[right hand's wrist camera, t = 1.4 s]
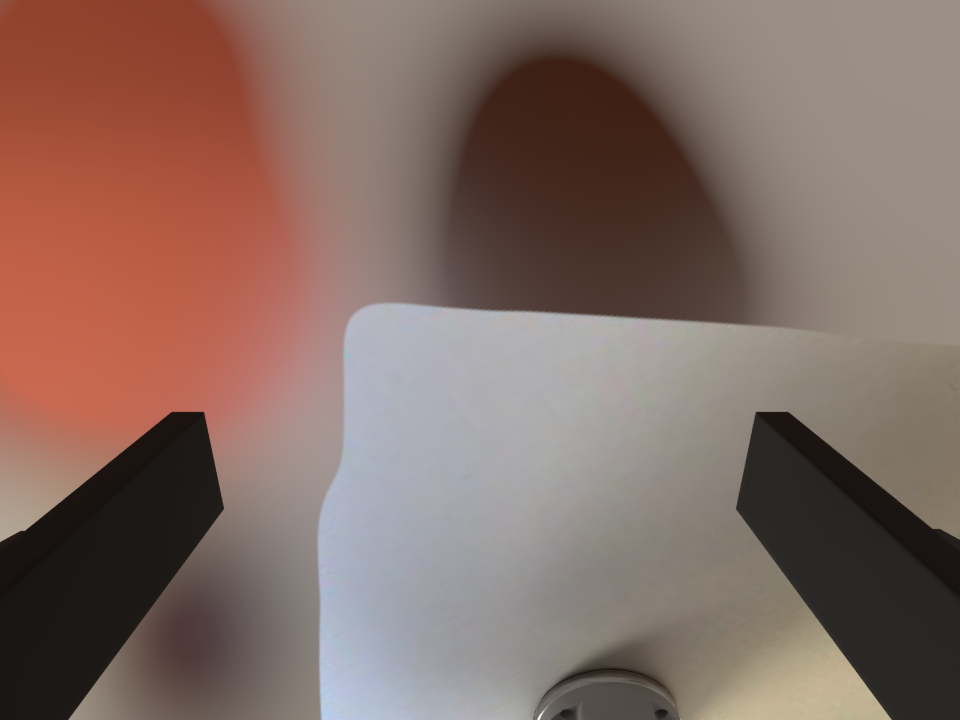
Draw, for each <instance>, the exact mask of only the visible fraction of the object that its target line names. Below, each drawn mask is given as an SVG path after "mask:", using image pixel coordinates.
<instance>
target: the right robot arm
mask: <svg viewBox="0 0 960 720" xmlns="http://www.w3.org/2000/svg"><path fill="white" fill-rule="evenodd" d="M223 509H224V506H223V502H222V497H221V492H220V487H219V482H218V477H217V472H216V468H215V463H214V458H213V453H212V448H211V443H210V439H209V434H208V429H207V424H206V419H205V414H204V412H171V413H170V414H169V415H167V416H166V417H165V418H164V419H162V420H161V421H160V422H159V423H158V424H156V425H155V426H154V427H153V428H151V429H150V430H149V431H148V432H146V433H145V434H144V435H143V436H142V437H140V438H139V439H138V440H137V441H135V442H134V443H133V444H132V445H130V446H129V447H128V448H127V449H125V450H124V451H123V452H122V453H121V454H119V455H118V456H117V457H116V458H114V459H113V460H112V461H111V462H109V463H108V464H107V465H106V466H105V467H103V468H102V469H101V470H100V471H98V472H97V473H96V474H95V475H93V476H92V477H91V478H90V479H88V480H87V481H86V482H85V483H83V484H82V485H81V486H80V487H79V488H77V489H76V490H75V491H74V492H72V493H71V494H70V495H69V496H67V497H66V498H65V499H64V500H63V501H61V502H60V503H59V504H58V505H56V506H55V507H54V508H53V509H51V510H50V511H49V512H48V513H46V514H45V515H44V516H43V517H42V518H40V519H39V520H38V521H37V522H35V523H34V524H33V525H32V526H30V527H29V528H28V529H27V530H26V531H20V532H18V533H16V534H14V535H12V536H11V537H9V538H7V539H5V540H3V541H1V542H0V720H68V719H69V718H70V717H71V715H72V714H73V712H74V711H75V710H76V708H77V707H78V706H79V704H80V703H81V702H82V700H83V699H84V698H85V696H86V695H87V694H88V692H89V691H90V690H91V688H92V687H93V685H94V684H95V683H96V681H97V680H98V679H99V677H100V676H101V675H102V673H103V672H104V671H105V669H106V668H107V667H108V665H109V664H110V662H111V661H112V660H113V658H114V657H115V656H116V654H117V653H118V652H119V650H120V649H121V648H122V646H123V645H124V644H125V642H126V641H127V639H128V638H129V637H130V635H131V634H132V633H133V631H134V630H135V629H136V627H137V626H138V625H139V623H140V622H141V621H142V619H143V618H144V616H145V615H146V614H147V612H148V611H149V610H150V608H151V607H152V606H153V604H154V603H155V602H156V600H157V599H158V597H159V596H160V595H161V593H162V592H163V591H164V589H165V588H166V587H167V585H168V584H169V583H170V581H171V580H172V579H173V577H174V576H175V574H176V573H177V572H178V570H179V569H180V568H181V566H182V565H183V564H184V562H185V561H186V560H187V558H188V557H189V556H190V554H191V553H192V551H193V550H194V549H195V547H196V546H197V545H198V543H199V542H200V541H201V539H202V538H203V537H204V535H205V534H206V532H207V531H208V530H209V528H210V527H211V526H212V524H213V523H214V522H215V520H216V519H217V518H218V516H219V515H220V514H221V512H222V511H223ZM736 510H737V511H738V512H739V514H740V515H741V516H742V518H743V519H744V520H745V522H746V523H747V524H748V526H749V527H750V528H751V530H752V531H753V533H754V534H755V535H756V537H757V538H758V539H759V541H760V542H761V543H762V545H763V546H764V547H765V549H766V550H767V551H768V553H769V554H770V556H771V557H772V558H773V560H774V561H775V562H776V564H777V565H778V566H779V568H780V569H781V570H782V572H783V573H784V574H785V576H786V577H787V579H788V580H789V581H790V583H791V584H792V585H793V587H794V588H795V589H796V591H797V592H798V593H799V595H800V596H801V598H802V599H803V600H804V602H805V603H806V604H807V606H808V607H809V608H810V610H811V611H812V612H813V614H814V615H815V616H816V618H817V619H818V621H819V622H820V623H821V625H822V626H823V627H824V629H825V630H826V631H827V633H828V634H829V635H830V637H831V638H832V639H833V641H834V642H835V644H836V645H837V646H838V648H839V649H840V650H841V652H842V653H843V654H844V656H845V657H846V658H847V660H848V661H849V662H850V664H851V665H852V667H853V668H854V669H855V671H856V672H857V673H858V675H859V676H860V677H861V679H862V680H863V681H864V683H865V684H866V686H867V687H868V688H869V690H870V691H871V692H872V694H873V695H874V696H875V698H876V699H877V700H878V702H879V703H880V704H881V706H882V707H883V709H884V710H885V711H886V713H887V714H888V715H889V717H890V718H891V719H892V720H960V540H959V539H957V538H956V537H954V536H952V535H950V534H948V533H946V532H944V531H942V530H941V529H932V528H931V527H930V526H928V525H927V524H926V523H925V522H923V521H922V520H921V519H920V518H918V517H917V516H916V515H915V514H914V513H912V512H911V511H910V510H909V509H907V508H906V507H905V506H904V505H902V504H901V503H900V502H899V501H897V500H896V499H895V498H894V497H893V496H891V495H890V494H889V493H888V492H886V491H885V490H884V489H883V488H881V487H880V486H879V485H878V484H876V483H875V482H874V481H873V480H872V479H870V478H869V477H868V476H867V475H865V474H864V473H863V472H862V471H860V470H859V469H858V468H857V467H856V466H854V465H853V464H852V463H851V462H849V461H848V460H847V459H846V458H844V457H843V456H842V455H841V454H839V453H838V452H837V451H836V450H835V449H833V448H832V447H831V446H830V445H828V444H827V443H826V442H825V441H823V440H822V439H821V438H820V437H818V436H817V435H816V434H815V433H814V432H812V431H811V430H810V429H809V428H807V427H806V426H805V425H804V424H802V423H801V422H800V421H799V420H798V419H796V418H795V417H794V416H793V415H791V414H790V413H789V412H756V414H755V419H754V424H753V429H752V434H751V439H750V443H749V448H748V453H747V458H746V463H745V468H744V472H743V477H742V482H741V487H740V492H739V497H738V502H737V506H736ZM534 720H680V718H679V715H678V712H677V709H676V707H675V704H674V701H673V699H672V697H671V696H670V694H669V693H668V692H667V691H666V690H665V689H664V688H663V687H662V686H661V685H660V684H658V683H657V682H655V681H654V680H652V679H650V678H648V677H646V676H643V675H641V674H637V673H634V672H629V671H622V670H599V671H592V672H587V673H583V674H580V675H577V676H574V677H572V678H569V679H567V680H565V681H563V682H562V683H560V684H558V685H557V686H555V687H554V688H553V689H552V690H550V691H549V692H548V693H547V694H546V695H545V696H544V697H543V699H542V700H541V701H540V703H539V705H538V707H537V709H536V711H535V715H534Z"/></svg>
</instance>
